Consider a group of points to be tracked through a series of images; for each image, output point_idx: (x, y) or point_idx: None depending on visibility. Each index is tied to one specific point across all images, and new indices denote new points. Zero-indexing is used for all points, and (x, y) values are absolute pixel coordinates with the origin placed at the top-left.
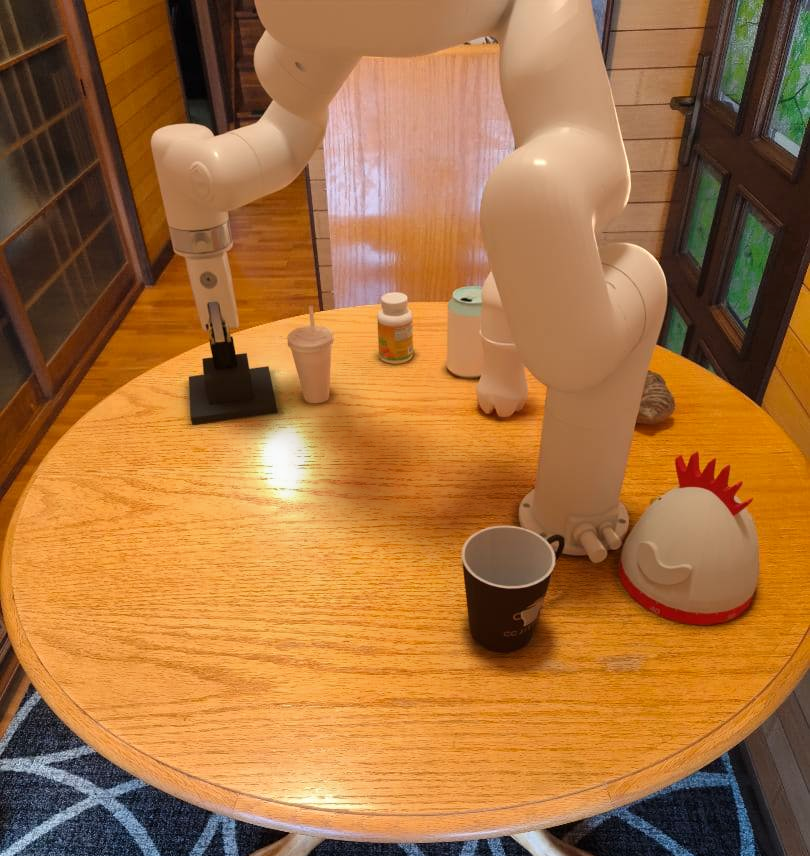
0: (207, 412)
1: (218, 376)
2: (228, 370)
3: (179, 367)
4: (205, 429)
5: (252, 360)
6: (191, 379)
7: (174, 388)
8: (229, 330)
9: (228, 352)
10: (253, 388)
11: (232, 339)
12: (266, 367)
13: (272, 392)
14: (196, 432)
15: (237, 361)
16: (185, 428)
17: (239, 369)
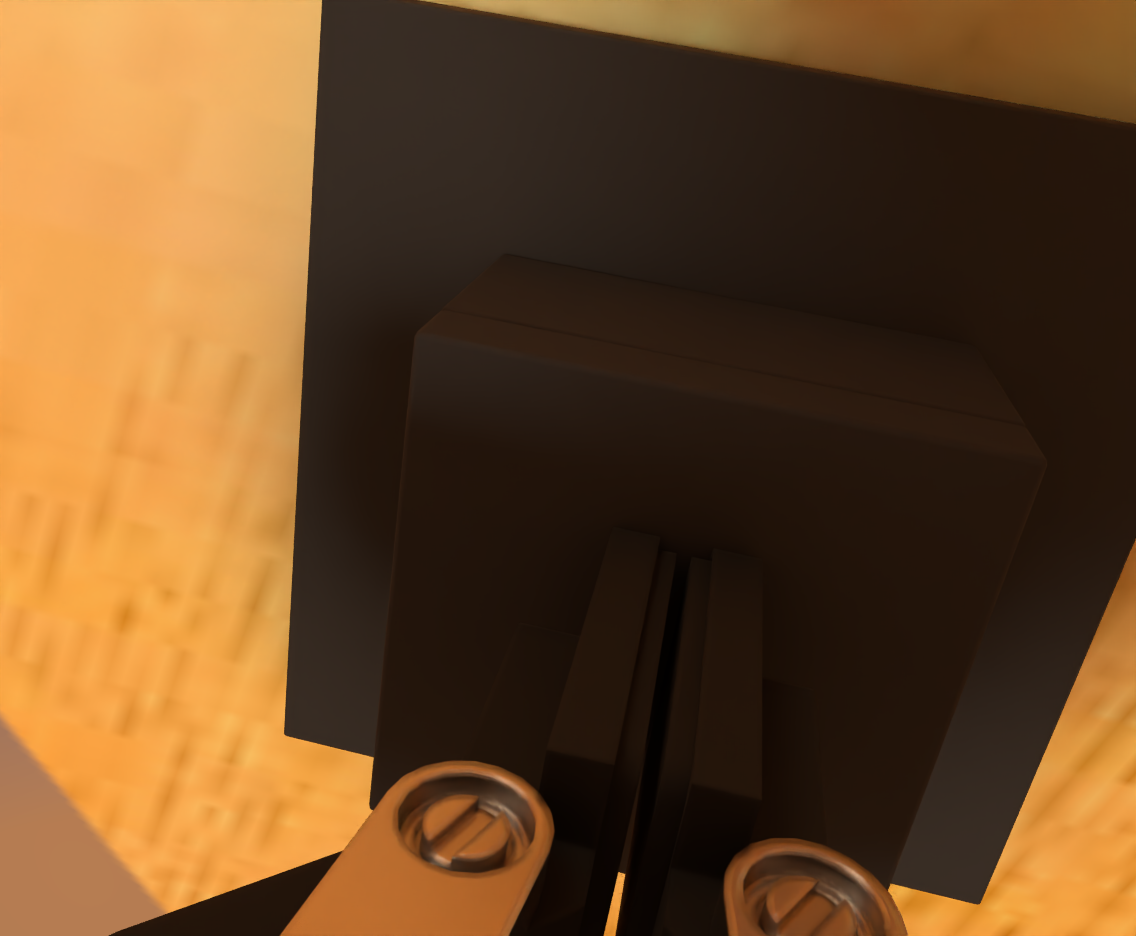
0: (978, 784)
1: (884, 800)
2: (799, 669)
3: (32, 693)
4: (1093, 795)
5: (36, 95)
6: (342, 732)
7: (345, 803)
8: (532, 879)
9: (819, 803)
10: (756, 293)
11: (612, 749)
12: (347, 20)
13: (961, 117)
14: (1094, 857)
15: (606, 506)
16: (982, 900)
17: (842, 547)
